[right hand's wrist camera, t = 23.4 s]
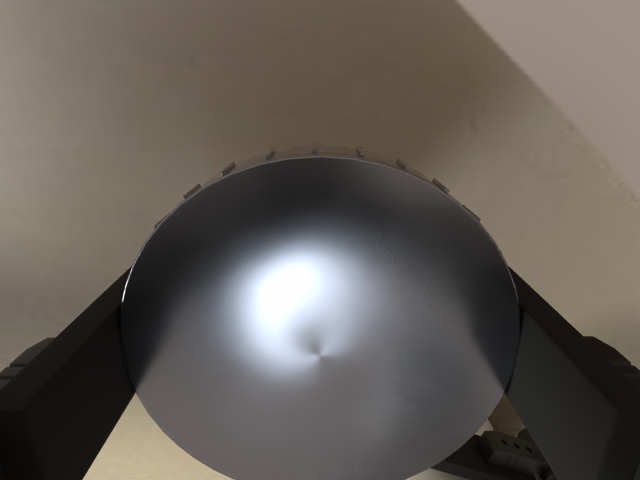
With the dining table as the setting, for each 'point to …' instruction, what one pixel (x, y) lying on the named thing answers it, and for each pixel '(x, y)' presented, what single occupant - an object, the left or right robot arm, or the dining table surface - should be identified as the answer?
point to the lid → (320, 319)
